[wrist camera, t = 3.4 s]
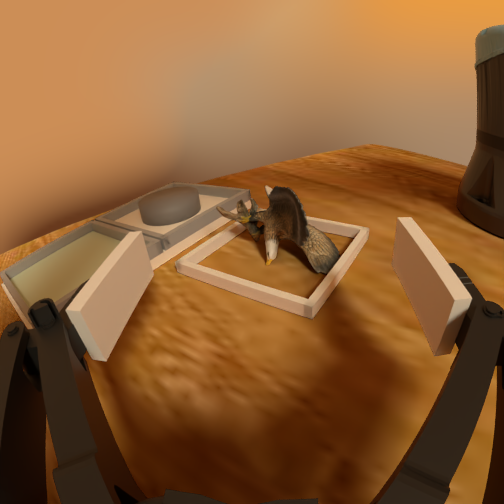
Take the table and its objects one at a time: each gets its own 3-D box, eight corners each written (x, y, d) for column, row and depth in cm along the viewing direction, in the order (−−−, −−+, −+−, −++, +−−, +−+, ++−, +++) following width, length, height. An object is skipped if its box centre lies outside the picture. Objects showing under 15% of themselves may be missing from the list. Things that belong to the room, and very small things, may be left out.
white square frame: (258, 216, 34) (257, 208, 34) (368, 237, 28) (369, 228, 27) (177, 272, 26) (174, 261, 25) (312, 319, 19) (312, 307, 19)
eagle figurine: (206, 256, 26) (299, 270, 19) (221, 171, 26) (313, 160, 20) (267, 265, 31) (350, 277, 25) (277, 195, 31) (360, 193, 25)
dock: (177, 195, 44) (174, 175, 43) (253, 206, 37) (250, 182, 36) (5, 292, 25) (-7, 268, 24) (41, 348, 18) (22, 316, 17)
